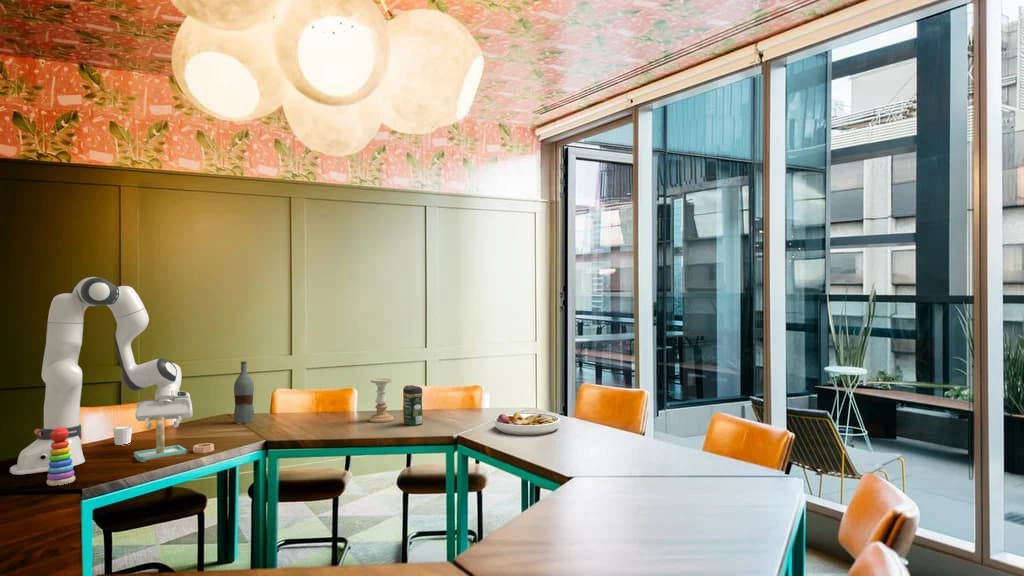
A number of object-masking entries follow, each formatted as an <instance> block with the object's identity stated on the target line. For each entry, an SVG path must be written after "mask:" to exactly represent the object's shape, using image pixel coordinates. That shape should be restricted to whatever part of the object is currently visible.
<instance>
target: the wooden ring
mask: <svg viewBox="0 0 1024 576" xmlns="http://www.w3.org/2000/svg"><path fill="white" fill-rule="evenodd" d="M213 451H215V444H214V443H212V442H209V443H208V442H204V443H198V444H195V445H193V447H192V452H193V453H194V454H205V453H210V452H213Z"/></svg>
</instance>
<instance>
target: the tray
mask: <svg viewBox="0 0 1024 576" xmlns="http://www.w3.org/2000/svg"><path fill="white" fill-rule="evenodd" d="M185 454H188V449H187V448H185V447H183V446H181V445H179V444H177V445H170V446H165V453H160V454H156V448H151V449H144V450H138V451H134V452H133V458H134V457H135V458H136V459H135V458H134V459H135V460H136V461H138V462H139V461H140V462H143V463H147V462H146V461H149V460H154V459H160V458H167V457H173V456H179V455H185ZM140 462H139V463H140Z"/></svg>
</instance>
